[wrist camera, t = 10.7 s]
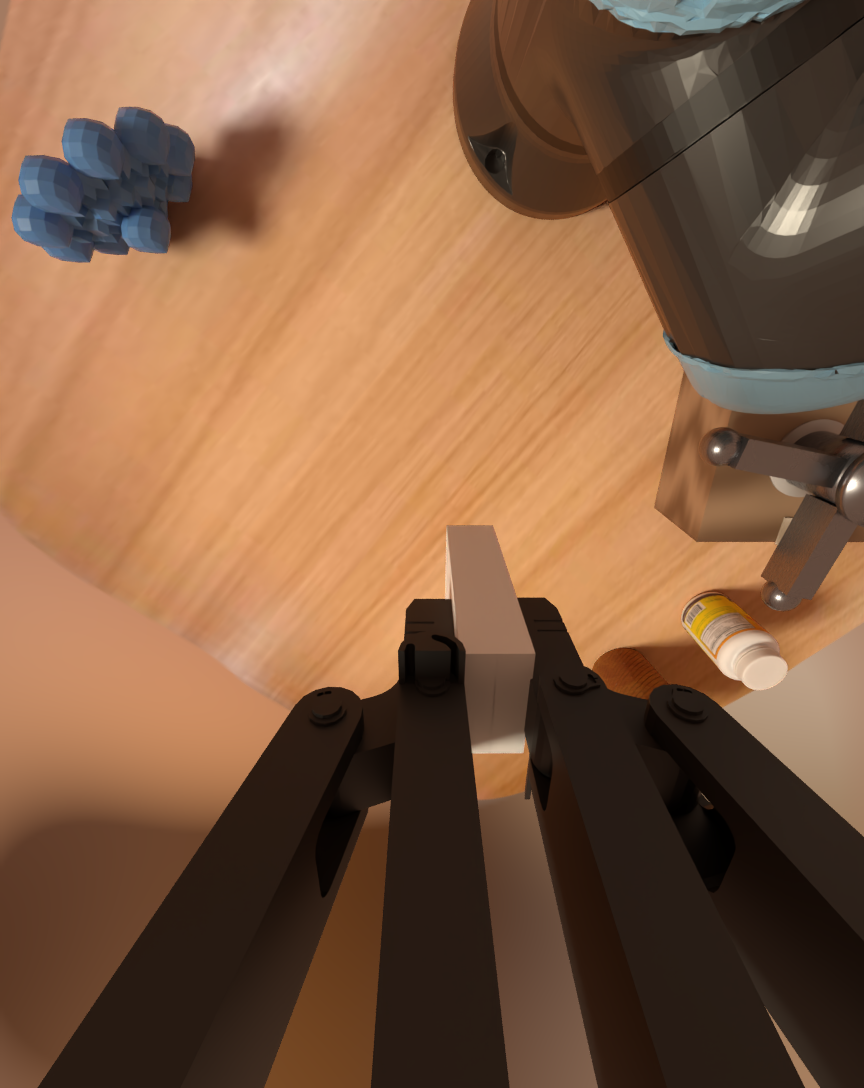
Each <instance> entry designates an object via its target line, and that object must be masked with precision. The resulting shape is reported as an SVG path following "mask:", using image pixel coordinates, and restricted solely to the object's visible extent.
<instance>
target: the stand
mask: <svg viewBox="0 0 864 1088" xmlns="http://www.w3.org/2000/svg"><path fill="white" fill-rule="evenodd" d="M857 402H858V401H855V402H852V403H848V404H844V405H839V406H834V407H829V408H824V409H819V410H813V411H806V412H797V413H786V414H752V413H743V412H737V411H732V410H728V409H724V408H721V407H719V406H717V405H716V404H714V403H712V402H711V401H709V400H708V399H706V398H704V397H702V396H700V395H699V394H698V392H697V391H696V390H695V389H694V388H693V386H692V385H691V383H690V381H689V379H688V377H687V375H686V373H685V371H684V374H683V378H682V383H681V387H680V392H679V397H678V401H677V406H676V410H675V415H674V420H673V424H672V429H671V433H670V438H669V442H668V447H667V452H666V456H665V461H664V465H663V470H662V475H661V479H660V484H659V488H658V493H657V497H656V502H655V507H654V508H655V509H657V510H658V511H659V512H660V513H662V514H663V515H664V516H665V517H667V518H668V519H669V520H670V521H671V522H673V523H674V524H675V525H676V526H678V527H679V528H680V529H681V530H683V531H684V532H685V533H686V534H688V535H689V536H690V537H691V538H693V539H694V540H695V541H696V542H775V544H776V545H778V544H779V542H780V540H781V539H782V537H783V535H784V533H785V531H786V530H787V528H788V526H789V524H790V522H791V521H792V519H793V517H794V515H795V513H796V512H797V510H798V508H799V506H800V504H801V503H802V501H803V499H804V497H805V495H806V494H809V495H813V494H811V493H809V492H806V491H804V490H802V489H799V488H797V487H795V486H793V485H791V484H789V483H788V482H787V481H786V480H785V479H782V478H777V477H772V476H767V475H762V474H758V473H753V472H748V471H743V470H738V469H734V468H732V467H730V466H728V465H726V466H712V465H709V464H707V463H706V462H704V461H703V460H702V459H701V457H700V455H699V451H698V446H699V442H700V440H701V438H702V437H703V436H704V435H705V434H706V433H707V432H708V431H710V430H712V429H714V428H718V427H729V428H732V429H734V430H736V431H737V432H738V433H743V434H747V435H752V436H757V437H762V438H767V439H771V440H776V441H781V442H786V443H790V444H794V443H795V442H796V441H797V440H799V439H800V438H801V437H803V436H805V435H807V434H809V433H812V432H816V431H828V432H832V433H836V434H840V432H841V431H842V429H843V427H844V425H845V423H846V422H847V420H848V418H849V416H850V414H851V413H852V411H853V409H854V407H855V405H856V404H857ZM814 496H815V495H814ZM848 542H864V527H861V526H859V525H857V527H856V529H855V530H854V532H853V533H852V535H851V537H850V538H849V540H848Z"/></svg>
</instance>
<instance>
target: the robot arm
mask: <svg viewBox="0 0 864 1088" xmlns="http://www.w3.org/2000/svg"><path fill="white" fill-rule="evenodd" d="M453 106H454V116H455V122H456V128H457V132H458V136H459V140H460V143H461V146H462V149H463V152H464V154H465V157H466V159H467V161H468V163H469V165H470V167H471V169H472V171H473V172H474V174H475V176H476V177H477V179H478V180H479V181H480V183H481V184H482V185H483V187H484V188H485V189H486V190H487V191H488V192H489V193H490V194H491V195H492V196H493V197H494V198H495V199H496V200H498V201H499V202H500V203H501V204H503V205H504V206H506V207H507V208H509V209H511V210H513V211H515V212H517V213H519V214H522V215H525V216H528V217H532V218H537V219H546V220H554V219H564V218H569V217H573V216H576V215H579V214H582V213H585V212H587V211H589V210H591V209H593V208H595V207H597V206H598V205H600V204H602V203H603V202H604V201H606V200H607V199H608V202H609V206H610V209H611V211H612V213H613V215H614V218H615V220H616V222H617V225H618V227H619V229H620V231H621V234H622V236H623V238H624V240H625V243H626V245H627V247H628V249H629V252H630V254H631V256H632V259H633V261H634V263H635V265H636V268H637V270H638V272H639V274H640V277H641V279H642V281H643V283H644V286H645V288H646V290H647V293H648V295H649V297H650V299H651V302H652V304H653V306H654V308H655V311H656V313H657V315H658V317H659V320H660V322H661V324H662V327H663V329H664V331H663V337H664V340H665V343H666V345H667V347H668V348H669V350H670V351H671V352H672V353H673V354H674V355H675V356H676V357H678V359H679V361H680V363H681V365H682V367H683V369H684V371H685V373H686V375H687V377H688V379H689V381H690V383H691V385H692V386H693V388H694V389H695V390H696V391H697V392H698V394H699V395H700V396H702V397H704V398H706V399H708V400H709V401H711V402H712V403H714V404H716V405H717V406H719V407H721V408H724V409H728V410H732V411H737V412H743V413H752V414H786V413H797V412H806V411H813V410H819V409H824V408H829V407H834V406H839V405H844V404H848V403H852V402H855V401H859V400H862V399H864V0H471V1H470V4H469V6H468V8H467V11H466V14H465V17H464V20H463V24H462V27H461V31H460V36H459V40H458V45H457V52H456V59H455V68H454V77H453ZM398 664H399V680H398V682H397V683H396V684H395V685H394V686H393V687H392V688H391V689H389V690H388V691H386V692H384V693H382V694H379V695H377V696H374V697H370V698H366V699H362V700H360V698H359V697H358V696H357V695H356V694H355V693H354V692H353V691H350V690H347V689H345V688H342V687H326V688H322V689H318V690H315V691H313V692H311V693H309V694H307V695H306V696H304V697H303V698H302V699H301V700H300V701H299V702H298V703H297V704H296V705H295V706H294V708H293V709H292V711H291V712H290V714H289V715H288V717H287V718H286V720H285V721H284V723H283V724H282V726H281V727H280V729H279V730H278V732H277V733H276V735H275V736H274V738H273V739H272V740H271V742H270V743H269V745H268V746H267V748H266V749H265V751H264V752H263V754H262V755H261V757H260V758H259V760H258V761H257V763H256V765H255V766H254V767H253V769H252V770H251V772H250V773H249V775H248V776H247V778H246V779H245V781H244V782H243V784H242V785H241V786H240V788H239V790H238V791H237V792H236V794H235V795H234V797H233V799H232V800H231V801H230V803H229V804H228V806H227V807H226V809H225V810H224V812H223V813H222V815H221V816H220V818H219V819H218V821H217V822H216V824H215V825H214V827H213V828H212V830H211V831H210V833H209V834H208V836H207V837H206V838H205V840H204V841H203V843H202V845H201V846H200V847H199V849H198V851H197V852H196V854H195V855H194V856H193V858H192V859H191V861H190V862H189V864H188V865H187V867H186V868H185V870H184V871H183V873H182V874H181V876H180V877H179V879H178V880H177V882H176V883H175V885H174V886H173V887H172V889H171V890H170V892H169V894H168V895H167V896H166V898H165V899H164V901H163V902H162V904H161V906H160V907H159V908H158V910H157V911H156V913H155V914H154V916H153V917H152V919H151V920H150V922H149V923H148V925H147V926H146V928H145V929H144V931H143V932H142V933H141V935H140V937H139V938H138V940H137V941H136V942H135V944H134V945H133V947H132V948H131V950H130V951H129V953H128V955H127V956H126V957H125V959H124V960H123V962H122V963H121V965H120V966H119V968H118V969H117V971H116V972H115V974H114V975H113V977H112V978H111V980H110V981H109V982H108V984H107V985H106V987H105V989H104V990H103V991H102V993H101V994H100V996H99V997H98V999H97V1000H96V1002H95V1003H94V1005H93V1007H92V1008H91V1009H90V1011H89V1012H88V1014H87V1015H86V1017H85V1018H84V1020H83V1021H82V1023H81V1024H80V1026H79V1027H78V1029H77V1030H76V1032H75V1033H74V1034H73V1036H72V1038H71V1039H70V1040H69V1042H68V1043H67V1045H66V1046H65V1048H64V1049H63V1051H62V1052H61V1054H60V1055H59V1057H58V1058H57V1060H56V1061H55V1063H54V1064H53V1066H52V1067H51V1069H50V1070H49V1072H48V1073H47V1075H46V1076H45V1078H44V1079H43V1080H42V1082H41V1083H40V1085H39V1087H38V1088H264V1086H265V1084H266V1081H267V1078H268V1076H269V1073H270V1070H271V1068H272V1065H273V1062H274V1060H275V1057H276V1054H277V1052H278V1049H279V1047H280V1044H281V1041H282V1039H283V1036H284V1033H285V1031H286V1028H287V1025H288V1023H289V1020H290V1017H291V1015H292V1012H293V1009H294V1006H295V1004H296V1001H297V999H298V996H299V993H300V991H301V988H302V985H303V983H304V980H305V978H306V975H307V972H308V970H309V967H310V964H311V962H312V959H313V956H314V954H315V951H316V948H317V946H318V943H319V940H320V938H321V935H322V932H323V930H324V927H325V924H326V922H327V919H328V917H329V914H330V911H331V909H332V906H333V903H334V901H335V898H336V895H337V893H338V890H339V887H340V885H341V882H342V879H343V877H344V874H345V871H346V869H347V866H348V863H349V861H350V858H351V855H352V853H353V850H354V847H355V845H356V842H357V839H358V837H359V834H360V831H361V829H362V826H363V824H364V821H365V818H366V815H367V813H368V808H369V807H371V806H374V805H377V804H380V803H383V802H386V801H389V800H391V807H390V822H389V836H388V851H387V864H386V879H385V893H384V907H383V922H382V936H381V951H380V965H379V981H378V994H377V1008H376V1023H375V1038H374V1051H373V1065H372V1080H371V1088H509V1080H508V1071H507V1062H506V1053H505V1044H504V1036H503V1026H502V1018H501V1008H500V999H499V990H498V982H497V972H496V963H495V954H494V945H493V936H492V927H491V919H490V909H489V901H488V892H487V882H486V874H485V864H484V856H483V846H482V838H481V829H480V820H479V810H478V801H477V792H476V784H475V775H474V766H473V757H472V753H523V752H524V744H525V736H526V740H527V745H528V749H529V753H530V754H529V762H528V770H527V777H526V785H525V799H530V795H531V790H532V795H533V799H534V803H535V808H536V812H537V816H538V821H539V826H540V830H541V835H542V839H543V844H544V848H545V852H546V857H547V862H548V866H549V870H550V875H551V879H552V884H553V888H554V893H555V897H556V902H557V906H558V910H559V915H560V919H561V924H562V928H563V933H564V937H565V942H566V946H567V951H568V956H569V960H570V964H571V968H572V973H573V978H574V982H575V987H576V991H577V995H578V1000H579V1004H580V1009H581V1014H582V1018H583V1022H584V1027H585V1031H586V1036H587V1040H588V1045H589V1049H590V1054H591V1058H592V1063H593V1067H594V1072H595V1076H596V1080H597V1085H598V1088H805V1087H804V1085H803V1083H802V1081H801V1079H800V1077H799V1075H798V1073H797V1071H796V1069H795V1067H794V1065H793V1063H792V1061H791V1058H790V1056H789V1054H788V1053H787V1051H786V1048H785V1046H784V1044H783V1042H782V1040H781V1038H780V1036H779V1034H778V1032H777V1030H776V1028H775V1026H774V1024H773V1022H772V1020H771V1018H770V1016H769V1014H768V1012H769V1013H770V1015H771V1016H772V1017H773V1019H774V1020H775V1022H776V1023H777V1025H778V1026H779V1028H780V1029H781V1031H782V1032H783V1033H784V1035H785V1037H786V1038H787V1039H788V1041H789V1042H790V1044H791V1045H792V1047H793V1048H794V1049H795V1051H796V1053H797V1054H798V1056H799V1057H800V1058H801V1060H802V1061H803V1063H804V1064H805V1066H806V1067H807V1069H808V1070H809V1072H810V1073H811V1075H812V1076H813V1077H814V1079H815V1080H816V1082H817V1083H818V1085H819V1086H820V1088H864V837H863V836H862V835H861V834H860V833H859V832H858V831H857V830H856V829H855V828H853V827H852V826H851V825H850V824H849V823H848V822H847V821H846V820H845V819H844V818H842V817H841V816H840V815H839V814H838V813H837V812H836V811H835V810H834V809H833V808H831V807H830V806H829V805H828V804H827V803H826V802H825V801H824V800H823V799H821V798H820V797H819V796H818V795H817V794H816V793H815V792H814V791H813V790H812V789H811V788H809V787H808V786H807V785H806V784H805V783H804V782H803V781H802V780H801V779H799V777H797V776H796V775H795V774H794V773H793V772H792V771H791V770H790V769H789V768H788V767H786V766H785V765H784V764H783V763H782V762H781V761H780V760H779V759H777V757H775V756H774V755H773V754H772V753H771V752H770V751H769V750H768V749H767V748H766V747H764V746H763V745H762V744H761V743H760V742H759V741H758V740H757V739H756V738H755V737H753V736H752V735H751V734H750V733H749V732H748V731H747V730H746V729H745V728H743V727H742V726H741V725H740V724H739V723H738V722H737V721H736V720H735V719H734V718H732V716H730V715H729V714H728V713H727V712H726V711H725V710H724V709H723V708H722V707H721V706H719V705H718V704H717V703H716V702H715V701H713V700H712V699H711V698H709V697H708V696H706V695H705V694H704V693H701V692H699V691H697V690H694V689H692V688H690V687H686V686H681V685H676V684H671V685H661V686H659V687H657V688H654V689H653V691H652V692H651V694H650V695H649V699H648V700H646V699H642V698H637V697H633V696H629V695H624V694H621V693H617V692H614V691H612V690H610V689H608V688H607V686H606V684H605V683H604V681H603V680H602V679H601V677H600V676H599V675H598V674H597V673H595V672H594V671H592V670H591V669H589V668H587V667H584V666H583V663H582V661H581V659H580V657H579V655H578V653H577V650H576V648H575V646H574V644H573V642H572V640H571V637H570V635H569V633H568V632H567V629H566V627H565V624H564V622H562V618H561V616H560V614H559V611H558V609H557V608H556V607H555V606H554V605H553V604H551V603H550V602H549V601H548V600H547V599H546V598H517V596H516V593H515V590H514V587H513V584H512V581H511V578H510V575H509V572H508V569H507V566H506V563H505V560H504V557H503V554H502V551H501V548H500V545H499V542H498V539H497V536H496V533H495V530H494V527H493V526H485V525H447V530H446V576H445V599H414V600H413V602H412V603H411V604H410V605H409V607H408V608H407V609H406V620H405V634H404V641H403V642H402V643H401V645H400V647H399V650H398ZM701 793H702V794H703V795H704V796H705V797H706V798H707V799H708V801H709V802H708V801H707V800H706V799H705V797H704V796H703V795H702V794H701ZM765 1007H766V1008H765ZM766 1009H767V1010H768V1012H767V1010H766Z"/></svg>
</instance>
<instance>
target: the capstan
mask: <svg viewBox="0 0 864 1088" xmlns="http://www.w3.org/2000/svg"><path fill="white" fill-rule="evenodd" d="M698 451H699V455H700V457H701V459H702V460H703V461H704V462H706V463H707V464H709V465H712V466H726V465H728V466H730V467H732V468H734V469H738V470H743V471H748V472H753V473H758V474H762V475H767V476H772V477H777V478H782V479H785V480H786V481H787V482H788V483H789V484H791V485H793V486H795V487H797V488H799V489H802V490H804V491H806V492H809V493H811V494H813V495H809V494H806V495H805V497H804V499H803V501H802V503H801V504H800V506H799V508H798V510H797V512H796V513H795V515H794V517H793V519H792V521H791V522H790V524H789V526H788V528H787V530H786V531H785V533H784V535H783V537H782V539H781V540H780V542H779V544H778V546H777V548H776V549H775V551H774V553H773V555H772V557H771V558H770V560H769V562H768V564H767V566H766V567H765V569H764V571H763V573H762V575H761V577H763V578H764V579H765V580H767V582H766V583H765V584H764V585H763V587H762V589H761V597H762V600H763V602H764V603H765V604H766V605H767V606H768V607H770V608H772V609H774V610H778V611H788V610H792V609H794V608H795V607H797V606H798V605H799V604H800V602H801V600H802V598H803V599H809V600H812V598H813V596H814V595H815V593H816V591H817V590H818V588H819V587H820V585H821V583H822V582H823V580H824V579H825V577H826V575H827V574H828V572H829V571H830V569H831V567H832V566H833V564H834V562H835V561H836V559H837V558H838V556H839V554H840V553H841V551H842V550H843V548H844V546H845V545H846V543H847V542H848V540H849V538H850V537H851V535H852V533H853V532H854V530H855V529H856V527H857V525H859V526H861V527H864V399H862V400H859V401H858V402H857V404H856V405H855V407H854V409H853V411H852V413H851V414H850V416H849V418H848V420H847V422H846V423H845V425H844V427H843V429H842V431H841V432H840V434H836V433H832V432H828V431H816V432H812V433H809V434H807V435H805V436H803V437H801V438H800V439H799V440H797V441H796V442H795V443H794V444H790V443H786V442H781V441H776V440H771V439H767V438H762V437H757V436H752V435H747V434H743V433H738V432H737V431H736V430H734V429H732V428H729V427H718V428H714V429H712V430H710V431H708V432H707V433H706V434H705V435H704V436H703V437H702V438H701V440H700V442H699V446H698ZM814 495H815V496H814Z"/></svg>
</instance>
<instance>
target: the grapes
mask: <svg viewBox="0 0 864 1088" xmlns="http://www.w3.org/2000/svg"><path fill="white" fill-rule="evenodd" d="M62 146H63V152H64V157H65V158H66V160H67V161H68V163H67V162H65V161H63V160H62V159H60V158H55V157H50V156H45V155H34V156H25V158H24V160H23V162H22V164H21V169H20V174H19V185H20V189H21V193H22V195H18V196H17V199H16V201H15V203H14V208H13V213H12V222H13V226H14V230H15V231H16V233H17V234H18V235H19V236H20V237H21V238H22V239H23V240H24V241H26V242H29V243H31V244H34V245H36V246H41V247H42V248H43V249H44V250H45V251H46V252H47V253H48V254H49V255H50V256H52V257H54V258H57V259H59V260H62V261H70V262H90V261H91V258H92V255H93V251H94V250H96V251H98V252H100V253H106V254H114V255H127V254H128V251H129V248H130V247H131V248H133V249H135V250H138V251H140V252H149V253H167V251H168V247H169V243H170V238H171V228H170V223H169V221H168V209H167V205H168V201H170V202H189V199H190V195H191V190H192V175H191V173H192V170H193V165H194V161H195V148H194V145H193V143H192V141H191V139H190V137H189V135H188V134H187V133H186V132H185V131H183V130H182V129H181V128H179V127H178V126H174V125H170V124H164V122H163V120H162V118H160V117H159V116H157V115H156V114H155V113H153V112H152V111H151V110H147V109H143V108H139V107H121V108H119V110H118V112H117V115H116V119H115V124H114V130H113V129H112V128H110V127H109V126H107V125H106V124H104V123H103V122H100V121H96V120H92V119H87V118H75V119H68V120H67V123H66V125H65V127H64V132H63V137H62Z"/></svg>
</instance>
